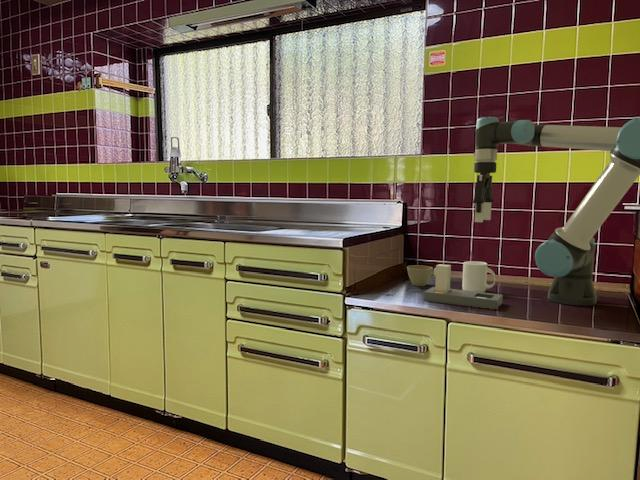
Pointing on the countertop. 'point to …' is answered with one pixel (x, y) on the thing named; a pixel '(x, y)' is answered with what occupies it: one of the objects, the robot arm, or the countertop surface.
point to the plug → (442, 278)
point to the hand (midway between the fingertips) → (482, 221)
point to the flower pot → (419, 274)
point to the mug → (476, 276)
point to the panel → (465, 298)
